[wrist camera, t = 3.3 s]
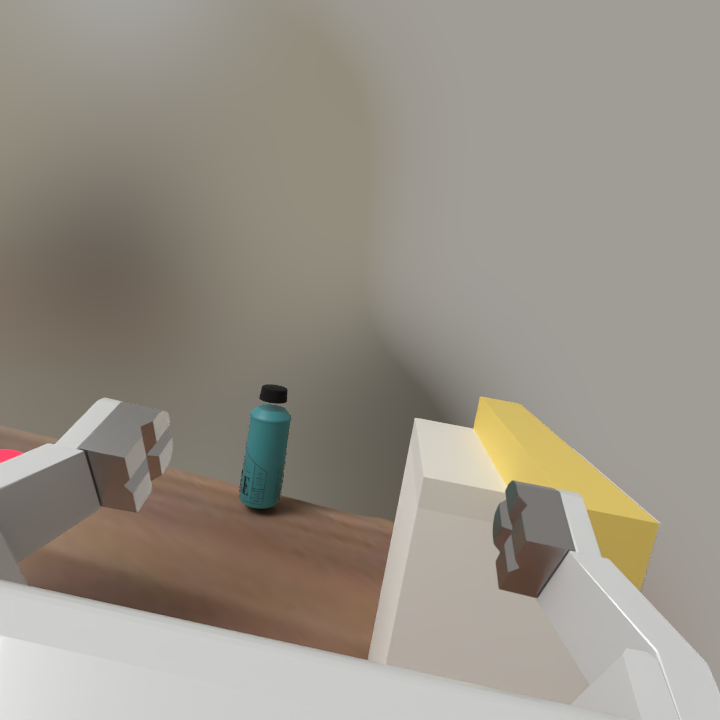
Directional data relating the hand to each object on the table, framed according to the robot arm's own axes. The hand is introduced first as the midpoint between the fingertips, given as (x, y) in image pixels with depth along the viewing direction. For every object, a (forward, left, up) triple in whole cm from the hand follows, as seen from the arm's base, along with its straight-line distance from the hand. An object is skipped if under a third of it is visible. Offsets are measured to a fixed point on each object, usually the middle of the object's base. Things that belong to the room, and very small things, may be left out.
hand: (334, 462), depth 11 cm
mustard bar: (+22, 0, -6) cm, 23 cm away
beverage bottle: (+43, +42, -32) cm, 68 cm away
